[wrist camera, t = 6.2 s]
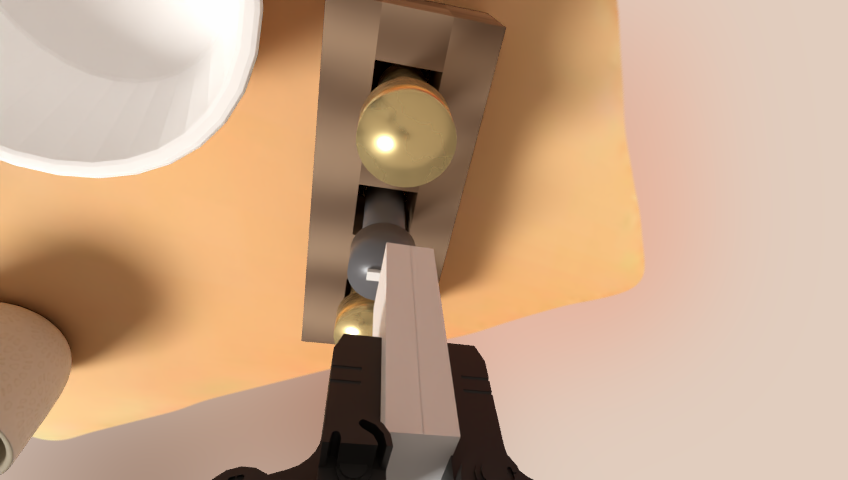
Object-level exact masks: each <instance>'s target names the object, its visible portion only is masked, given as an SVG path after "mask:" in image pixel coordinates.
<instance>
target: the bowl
mask: <svg viewBox="0 0 848 480" xmlns="http://www.w3.org/2000/svg"><path fill="white" fill-rule="evenodd" d="M262 16H263V0H0V160H2V161H5V162H7V163H10V164H13V165H16V166H20V167H24V168H29V169H33V170H38V171H42V172H47V173H51V174H55V175H64V176H78V177H92V178H106V177H116V176H126V175H135V174H140V173H143V172H147V171H150V170H153V169H156V168H159V167H163V166H166V165H169V164H172V163H174V162H175V161H177V160H179V159H181V158H182V157H184V156H186V155H187V154H189V153H191V152H193V151H194V150H196V149H198V148H199V147H201V146H202V145H203V144H204V143H205V142H206V141H207V140H208V139H209V138H210V137H211V136H213V135H214V134H215V133H216V132H217V131H218V130H219V129H220V128H221V127H222V126H223V125H224V124H225V123H226V122H227V120H228V118H229V117H230V115H231V114H232V112H233V110H234V109H235V107H236V106H237V104H238V102H239V101H240V99H241V98H242V96H243V95H244V93H245V91H246V88H247V85H248V82H249V79H250V76H251V73H252V70H253V67H254V64H255V61H256V59H257V56H258V50H259V41H260V33H261V25H262Z"/></svg>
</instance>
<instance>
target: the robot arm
mask: <svg viewBox="0 0 848 480" xmlns="http://www.w3.org/2000/svg"><path fill="white" fill-rule="evenodd" d="M491 392H492V391H491V387H490V382H489V381H488V373H487V369H486V364H485V361H484V360H483V358H482V356H481V355H480V354H479V352H478V351H477V349H476V348H475V346H470V345H461V344H451V343H447V339H446V332H445V325H444V318H443V311H442V304H441V298H440V291H439V284H438V277H437V270H436V263H435V256H434V249H431V248H424V247H417V246H410V245H402V244H395V243H388V242H387V243H386V248H385V253H384V258H383V263H382V268H381V273H380V278H379V283H378V288H377V293H376V298H375V303H374V310H373V335H372V336H363V335H354V334H343V336H342V337H341V338H340V340H339V341H338V343H337V344H336V345H335V347H334V351H333V358H332V364H331V371H330V378H329V385H328V392H327V400H326V407H325V415H324V422H323V430H322V437H321V441H320V444H319V446H318V448H317V450H316V451H315V452H314V454H312V456H311V457H310V458H309V459H307V460H306V461H304V462H303V463H302V464H300V465H298V466H296V467H293V468H290V469H287V470H284V471H280V472H276V473H273V474H269V475H267V474H266V473H264V472H262V471H260V470H259V469H257V468H252V467H238V468H234V469H230V470H226V471H225V472H223V473H221V474H220V475H218V476H217V477H215V478H214V479H212V480H533V479H531V478H529V477H527V476H526V475H524V474H523V473H522V472H521V471H519V469H518V467H517V465H516V464H515V463H514V462H513V461H512V460H511V458H510V457H509V456H508V455H507V453H506V450H505V447H504V444H503V440H502V435H501V431H500V426H499V422H498V417H497V413H496V409H495V405H494V400H493V396H492V395H491Z"/></svg>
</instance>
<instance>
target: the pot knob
mask: <svg viewBox="0 0 848 480" xmlns="http://www.w3.org/2000/svg"><path fill="white" fill-rule="evenodd" d="M387 242H388V243H395V244H402V245H410V246H416V245H415V242H414V239H413V238H412V236H411V235H410V234H409V233H408V232H407V231H406V230H405V212H404V195H403V191H402V190H395V189H388V188H382V187H375V186H370V187H369V188H368V190H367V192H366V199H365V209H364V219H363V229H361V230H360V231H359V232H358V233H357V234H356V235H355V237H354V238H353V240H352V243H351V248H350V255H349V263H348V270H347V275H348V280H349V283H350V285H351V286H352V288H353V289H354V290H355V291H356V292H357V293H358V294H360V295H361V296H363V297H365V298H367V299H370V300H374V301H375V298H376V293H377V288H378V283H379V278H380V273H381V268H382V263H383V258H384V253H385V248H386V243H387Z"/></svg>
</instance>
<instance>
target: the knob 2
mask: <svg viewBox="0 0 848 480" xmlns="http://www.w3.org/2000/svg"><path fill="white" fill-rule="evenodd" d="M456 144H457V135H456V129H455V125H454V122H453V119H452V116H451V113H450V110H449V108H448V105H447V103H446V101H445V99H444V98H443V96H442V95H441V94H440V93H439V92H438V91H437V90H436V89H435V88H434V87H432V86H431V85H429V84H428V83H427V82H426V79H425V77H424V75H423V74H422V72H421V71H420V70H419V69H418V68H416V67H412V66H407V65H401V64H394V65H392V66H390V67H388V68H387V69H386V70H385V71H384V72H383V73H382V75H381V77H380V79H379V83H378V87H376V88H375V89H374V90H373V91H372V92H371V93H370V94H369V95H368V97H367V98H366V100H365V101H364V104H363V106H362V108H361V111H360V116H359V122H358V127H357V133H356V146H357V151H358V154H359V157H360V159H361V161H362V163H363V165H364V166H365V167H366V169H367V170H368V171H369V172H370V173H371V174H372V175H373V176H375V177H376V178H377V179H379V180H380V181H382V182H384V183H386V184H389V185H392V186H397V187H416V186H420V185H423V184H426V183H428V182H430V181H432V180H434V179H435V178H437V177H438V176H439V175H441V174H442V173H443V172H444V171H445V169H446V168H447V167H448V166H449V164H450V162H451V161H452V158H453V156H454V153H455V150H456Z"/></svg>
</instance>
